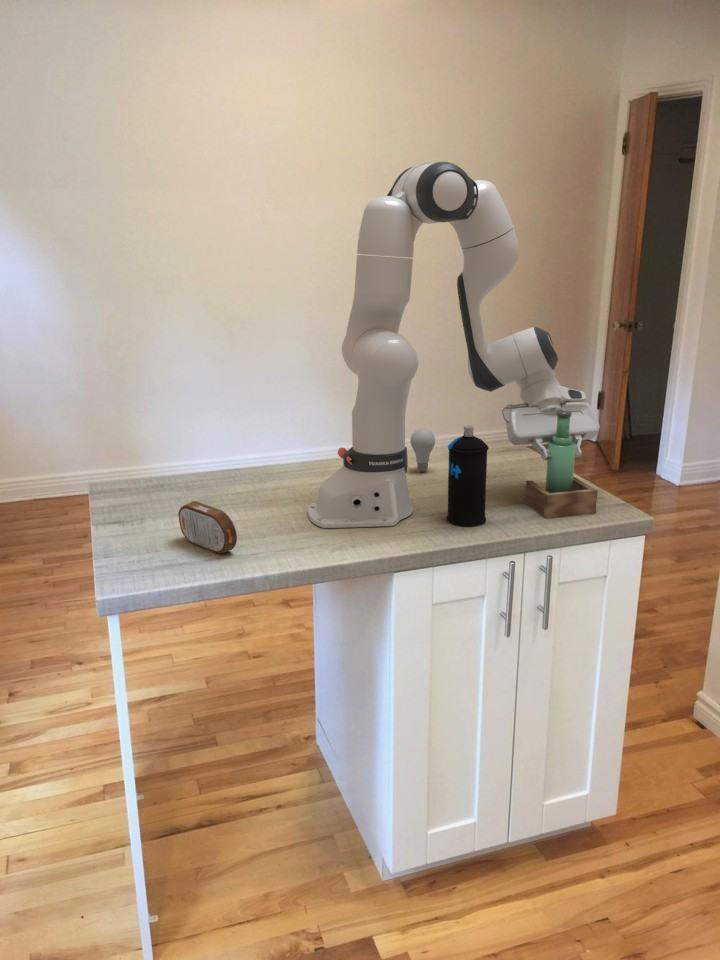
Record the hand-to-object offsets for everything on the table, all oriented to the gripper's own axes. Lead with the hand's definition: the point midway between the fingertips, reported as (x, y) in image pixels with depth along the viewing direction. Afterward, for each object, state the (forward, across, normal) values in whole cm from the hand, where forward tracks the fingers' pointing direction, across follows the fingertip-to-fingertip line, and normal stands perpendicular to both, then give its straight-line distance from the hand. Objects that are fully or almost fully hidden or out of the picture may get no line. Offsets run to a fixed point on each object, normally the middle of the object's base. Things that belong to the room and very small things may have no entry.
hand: (562, 457), depth 166 cm
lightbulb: (-16, -20, +32) cm, 41 cm away
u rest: (+8, 0, +8) cm, 11 cm away
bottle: (+7, 0, +8) cm, 10 cm away
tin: (+9, -75, +7) cm, 76 cm away
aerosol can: (+9, -22, +7) cm, 25 cm away
